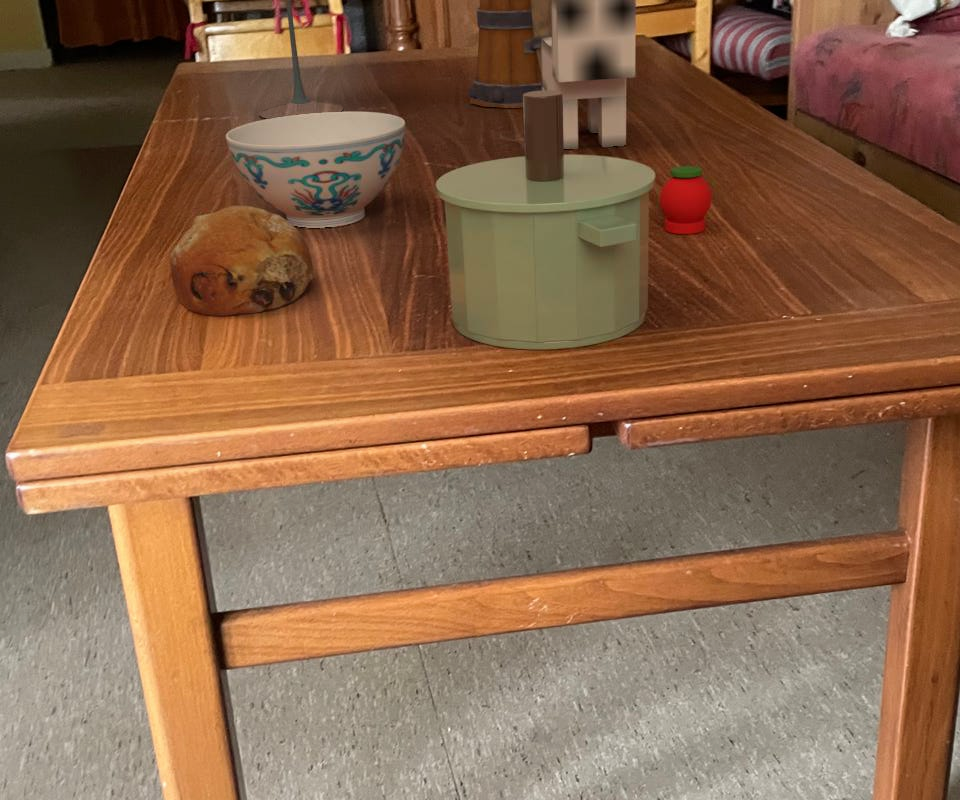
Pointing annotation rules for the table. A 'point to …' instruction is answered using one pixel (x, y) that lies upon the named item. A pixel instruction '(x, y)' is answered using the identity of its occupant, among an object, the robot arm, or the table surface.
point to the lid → (545, 171)
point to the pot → (549, 274)
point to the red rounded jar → (685, 201)
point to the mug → (510, 49)
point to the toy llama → (591, 64)
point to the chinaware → (319, 163)
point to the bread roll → (240, 262)
